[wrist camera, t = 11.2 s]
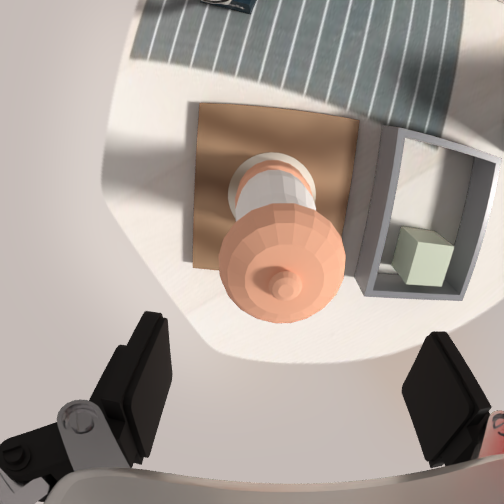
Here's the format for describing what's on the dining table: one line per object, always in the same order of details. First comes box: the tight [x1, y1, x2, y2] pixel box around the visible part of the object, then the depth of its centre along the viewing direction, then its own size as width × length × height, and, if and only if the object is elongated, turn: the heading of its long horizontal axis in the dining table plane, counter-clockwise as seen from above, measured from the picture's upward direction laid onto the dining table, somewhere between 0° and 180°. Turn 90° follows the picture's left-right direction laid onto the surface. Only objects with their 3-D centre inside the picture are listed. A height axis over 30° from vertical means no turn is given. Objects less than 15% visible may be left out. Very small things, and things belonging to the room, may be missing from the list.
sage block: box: [391, 226, 454, 287], centre depth 34 cm, size 5×5×5 cm
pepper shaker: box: [218, 160, 346, 323], centre depth 24 cm, size 7×7×19 cm
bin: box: [354, 125, 502, 301], centre depth 32 cm, size 18×14×4 cm
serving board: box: [193, 103, 360, 270], centre depth 34 cm, size 18×16×1 cm
